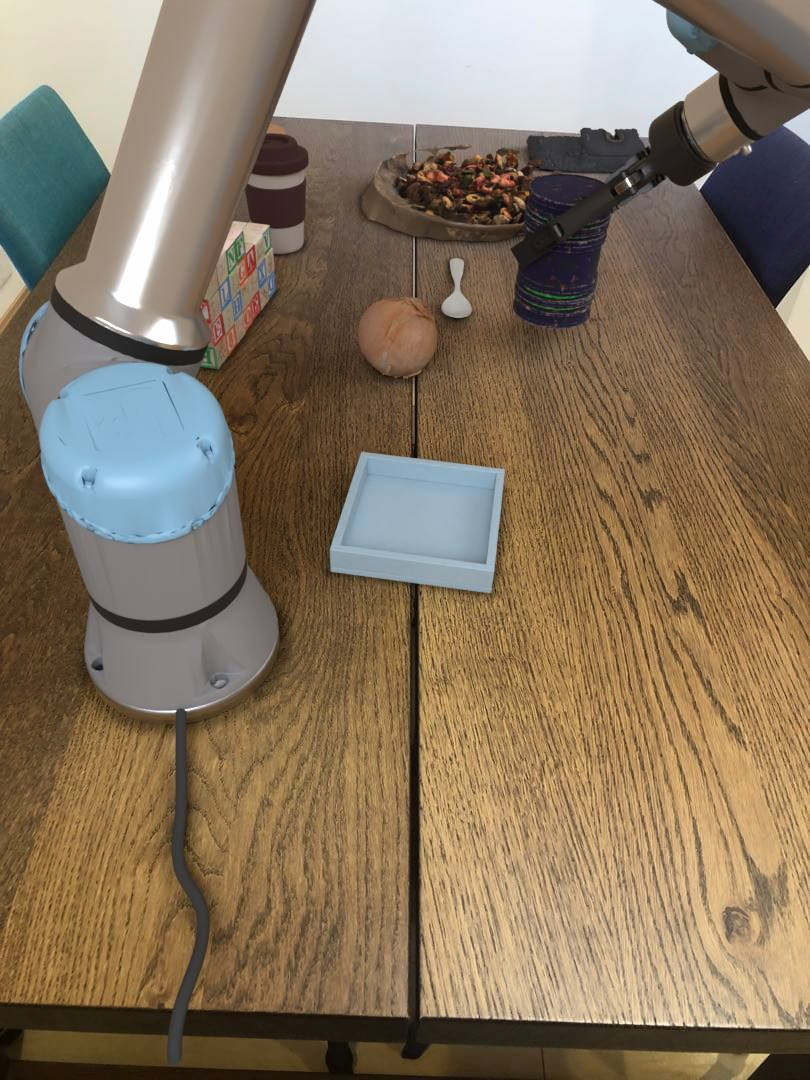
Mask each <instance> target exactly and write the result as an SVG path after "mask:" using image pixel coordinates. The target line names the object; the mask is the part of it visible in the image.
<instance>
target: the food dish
mask: <svg viewBox="0 0 810 1080" xmlns="http://www.w3.org/2000/svg"><path fill="white" fill-rule="evenodd" d="M470 148H471V149H472V148H473V145H472V144H470V143H469V144H467V143H465V144H464V145H463V144H457V145H456V144H454V145H446V146H444V147H437V146H433V147H424V148H418V149H415V150H413V152H414V153H417V152H423V151H424V152H429V153H431V154H430V155H428V156H427V157H426V158H425V159H424V161H423V162H421V161H416V162H413V163H412V165H411V166H409V165H408V163H407V155H410V151H407V152H405V151H404V152H402V153H398V154H394V155H393V156H391V157H390V158H389V159H383V160H381V161H380V162H379V164H378V166H377V169H376V170H375V172H374V175H373V177H372V179H371V181H370V184H369V186H368V187H367V189H366V191H365V193H363V195H362V196H361V200H362V201H361V210H362V211H363V213H364V215H365V216H366V217H367V220H370V221H373V222H377V223H379V224H382V225H384V226H387V227H388V228H390V229H392V230H395V231H397V232H401V233H403V234H407V235H409V236H413V237H416V238H426V237H427V238H430V239H434V240H438V241H447V240H452V241H454V240H456V241H462V242H463V241H467V242H475V241H476V242H481V241H483V242H497V241H501V240H507V239H510V238H513V237H516V236H522V235H524V234H523V224H524V222H525V218H524V216H525V209H526V205H527V201H528V196H529V186H530V183H531V181H532V180H533V179H535V178H537V177H540V176H541V175H537V176H534V171H536V169H537V168H539V167H538V166H541V165H544V164H546V162H545V160H543V159H535V160H532V159H531V160H528V161H527V165H526V166H523V167H521V168H520V170H519V169H518V168H519V165H520V164H519V163H520V162H519V159H518V158H519V157H521V156H522V154H523V152H522V151H521V150H517V149H514V148H507V147H502V148H498V150H496V151H495V156H494V155H493V154H492V153H491V152H490V153H488V154H486V156H485V157H483V158H482V157H481V156H480V154H475V155H474V156H473V157H467V158H465V159H464V160H463V161H462V162H461V164H457V162H454V161H455V157H456V156H455V154H454V153H453V152H451V151H456V150H460V151H461V150H467V149H470ZM443 149H445V150H449V151H444V152H441V153H439V154H438V152H439V151H440V150H443ZM437 154H438V155H437ZM504 156H505V162H504V161H503V157H504ZM551 174H564V172H561V171H557V170H555V171H552V173H551Z"/></svg>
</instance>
